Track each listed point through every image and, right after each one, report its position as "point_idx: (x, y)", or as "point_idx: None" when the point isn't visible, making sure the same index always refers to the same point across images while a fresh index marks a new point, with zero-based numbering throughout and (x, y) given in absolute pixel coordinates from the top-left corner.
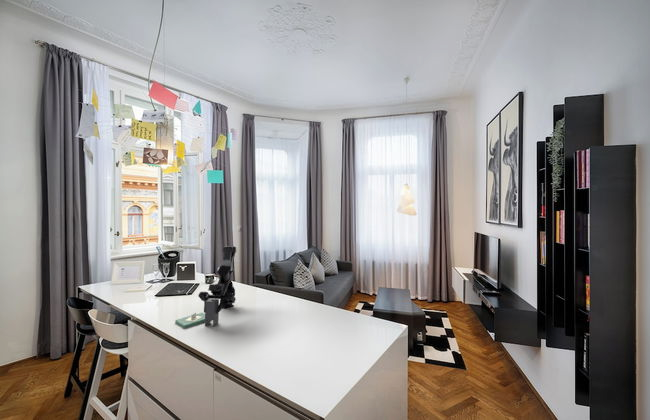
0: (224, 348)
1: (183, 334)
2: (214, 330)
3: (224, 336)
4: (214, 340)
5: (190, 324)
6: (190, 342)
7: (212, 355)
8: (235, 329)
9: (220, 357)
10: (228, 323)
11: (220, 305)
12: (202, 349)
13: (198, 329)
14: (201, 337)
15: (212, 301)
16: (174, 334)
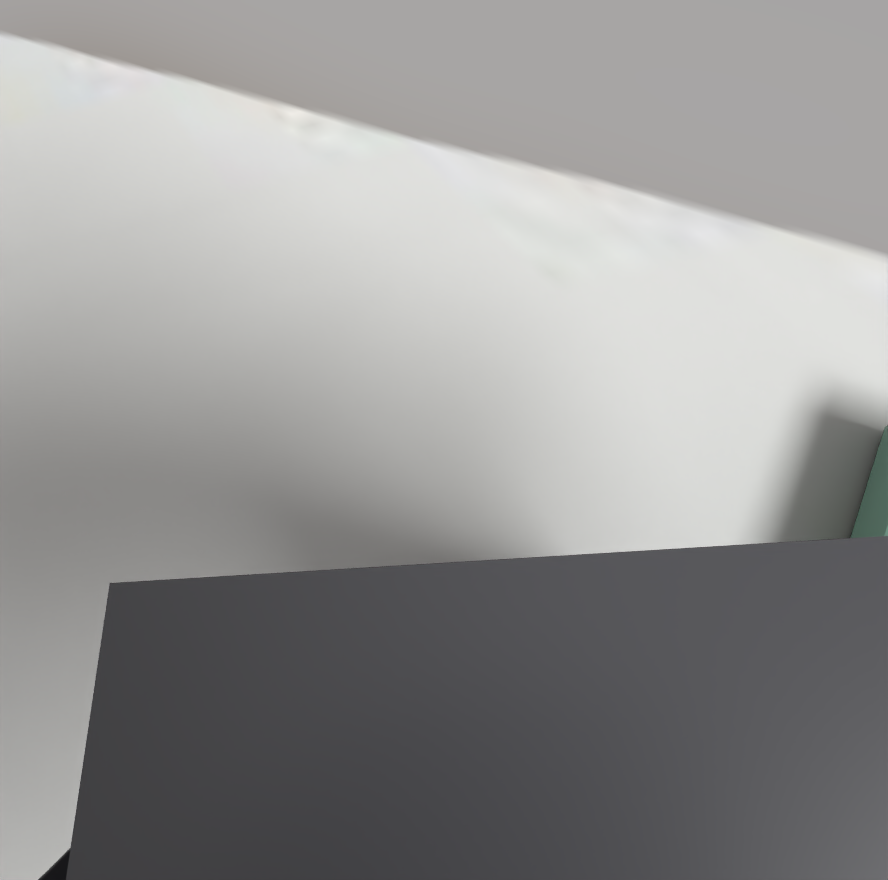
0: (21, 166)
1: (706, 280)
2: (341, 507)
3: (113, 379)
4: (194, 263)
5: (878, 519)
6: (444, 155)
7: (88, 55)
8: (27, 625)
9: (10, 55)
10: None
11: (59, 876)
12: (227, 95)
13: (621, 474)
14: (396, 279)
15: (327, 623)
16: (835, 246)
